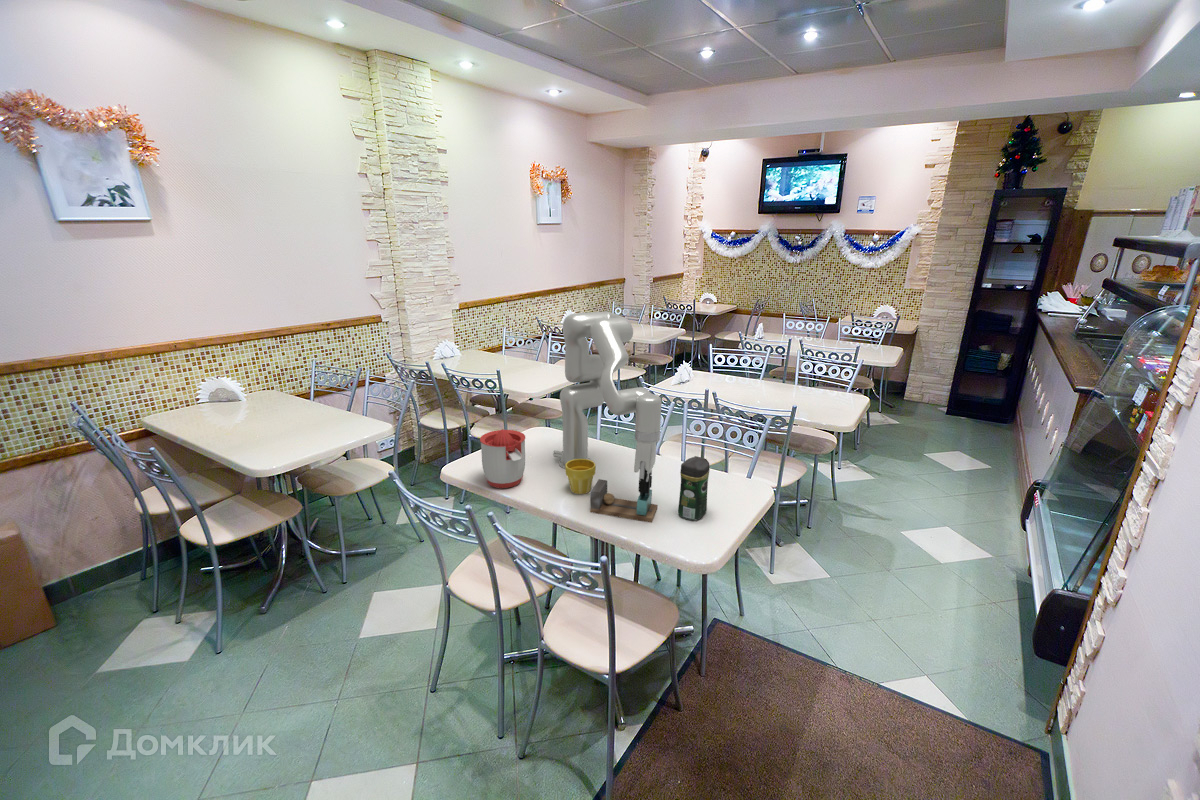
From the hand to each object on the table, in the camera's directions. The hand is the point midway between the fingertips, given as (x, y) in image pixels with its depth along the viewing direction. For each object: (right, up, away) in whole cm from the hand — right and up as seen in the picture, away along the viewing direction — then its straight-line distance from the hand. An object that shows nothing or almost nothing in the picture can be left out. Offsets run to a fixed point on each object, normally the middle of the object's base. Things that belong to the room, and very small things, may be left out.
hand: (645, 489), depth 161 cm
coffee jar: (+15, -9, +3) cm, 18 cm away
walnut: (-11, -6, +5) cm, 14 cm away
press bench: (-6, -8, +4) cm, 11 cm away
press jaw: (0, -7, +2) cm, 7 cm away
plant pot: (-21, -4, +18) cm, 28 cm away
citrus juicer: (-48, -2, +22) cm, 53 cm away
